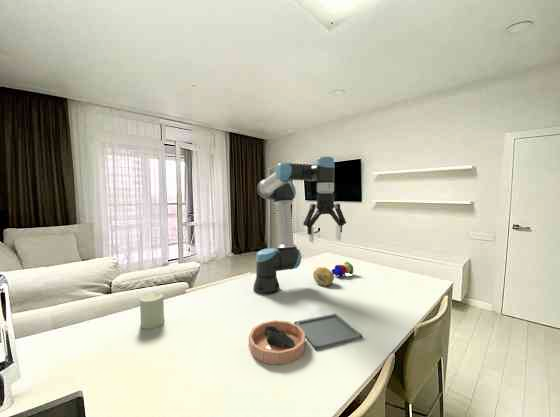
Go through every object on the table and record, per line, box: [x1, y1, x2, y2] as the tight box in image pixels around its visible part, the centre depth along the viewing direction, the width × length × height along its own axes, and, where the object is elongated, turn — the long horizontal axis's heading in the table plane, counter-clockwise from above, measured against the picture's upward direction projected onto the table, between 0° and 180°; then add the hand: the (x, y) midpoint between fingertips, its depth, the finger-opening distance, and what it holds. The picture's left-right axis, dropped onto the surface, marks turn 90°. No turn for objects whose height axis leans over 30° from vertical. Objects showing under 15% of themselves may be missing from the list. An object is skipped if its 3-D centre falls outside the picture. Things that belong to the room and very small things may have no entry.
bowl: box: [248, 319, 306, 366], centre depth 89 cm, size 20×20×4 cm
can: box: [139, 292, 165, 330], centre depth 105 cm, size 9×9×12 cm
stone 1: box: [264, 326, 296, 349], centre depth 89 cm, size 7×13×5 cm, turn 54°
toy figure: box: [331, 261, 354, 277], centre depth 166 cm, size 9×10×15 cm
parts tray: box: [293, 313, 363, 351], centre depth 98 cm, size 18×20×1 cm
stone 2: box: [312, 266, 335, 287], centre depth 151 cm, size 13×10×10 cm
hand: (325, 240), depth 108 cm, fingers open, 13 cm apart
